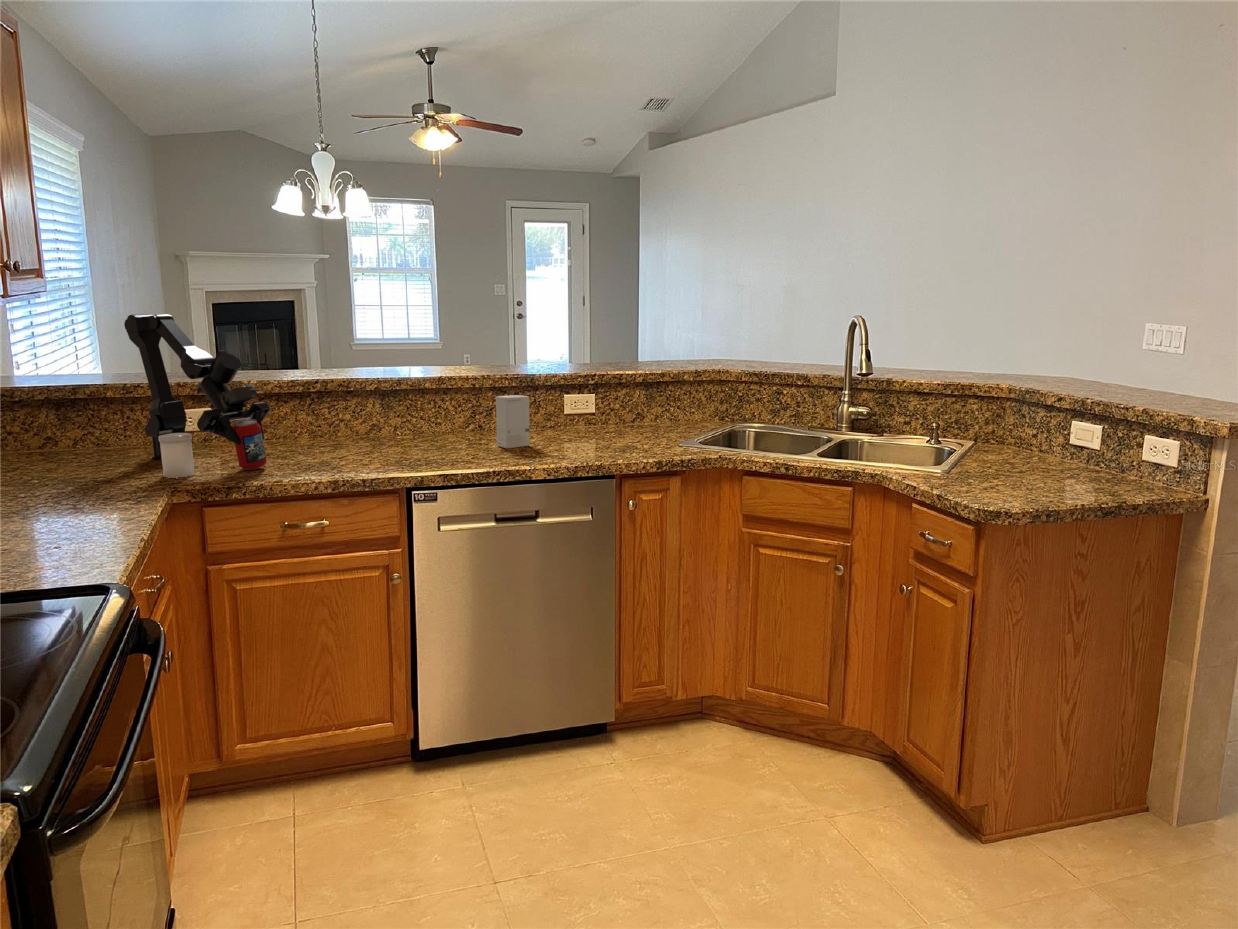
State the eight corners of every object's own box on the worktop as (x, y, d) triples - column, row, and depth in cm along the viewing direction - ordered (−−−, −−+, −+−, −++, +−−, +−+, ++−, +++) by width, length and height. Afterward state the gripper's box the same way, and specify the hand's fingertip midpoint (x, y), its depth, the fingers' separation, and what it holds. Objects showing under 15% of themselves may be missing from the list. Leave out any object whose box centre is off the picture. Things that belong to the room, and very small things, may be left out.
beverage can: (257, 470, 228) (249, 425, 225) (234, 470, 230) (225, 425, 226) (272, 462, 235) (264, 418, 231) (249, 462, 236) (241, 418, 233)
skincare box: (506, 449, 259) (505, 398, 255) (495, 446, 263) (494, 395, 260) (531, 445, 264) (530, 395, 261) (520, 442, 268) (519, 393, 265)
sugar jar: (157, 479, 221) (153, 438, 219) (169, 472, 228) (165, 433, 226) (189, 478, 222) (184, 437, 220) (199, 472, 229) (195, 432, 227)
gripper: (199, 378, 220) (233, 427, 218) (263, 371, 236) (295, 416, 233) (182, 407, 226) (214, 455, 223) (245, 398, 242) (276, 443, 239)
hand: (251, 441), depth 229 cm, fingers closed on beverage can, 6 cm apart
